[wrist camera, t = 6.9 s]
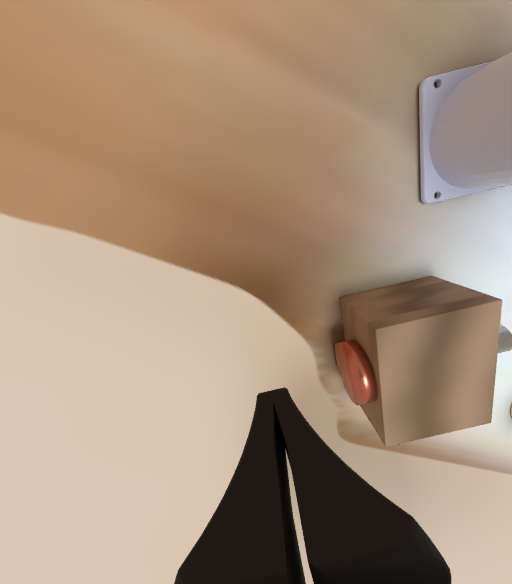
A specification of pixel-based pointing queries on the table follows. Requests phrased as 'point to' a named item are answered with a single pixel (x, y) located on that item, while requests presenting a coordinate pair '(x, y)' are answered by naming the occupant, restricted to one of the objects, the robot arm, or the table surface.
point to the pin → (361, 375)
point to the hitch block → (426, 356)
